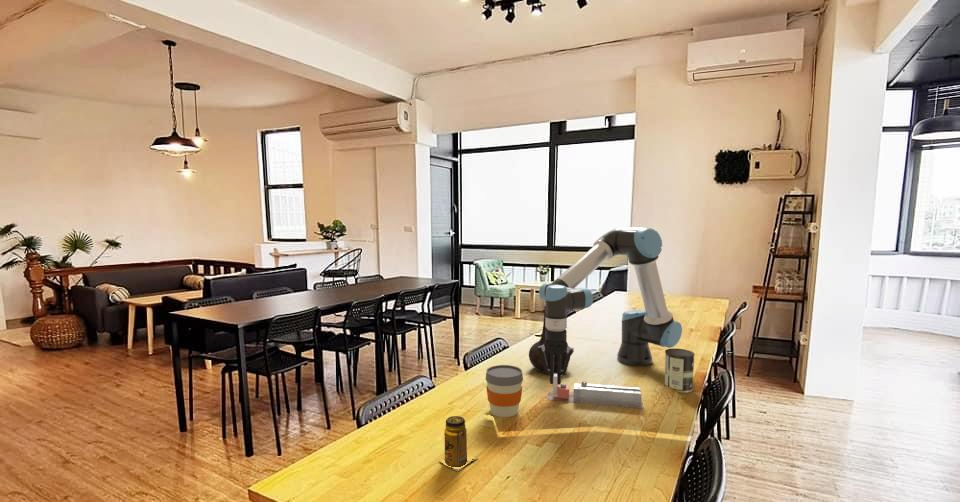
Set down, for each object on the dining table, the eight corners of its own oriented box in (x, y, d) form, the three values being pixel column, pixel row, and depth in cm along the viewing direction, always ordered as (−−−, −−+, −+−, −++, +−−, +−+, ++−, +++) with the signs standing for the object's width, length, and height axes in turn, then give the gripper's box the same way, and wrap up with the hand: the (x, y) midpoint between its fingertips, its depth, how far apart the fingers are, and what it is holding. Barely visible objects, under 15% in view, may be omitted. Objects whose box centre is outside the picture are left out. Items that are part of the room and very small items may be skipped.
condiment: (438, 462, 122) (437, 420, 121) (459, 450, 129) (458, 409, 128) (457, 472, 118) (457, 428, 117) (478, 459, 124) (478, 417, 123)
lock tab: (558, 393, 165) (558, 382, 164) (569, 394, 164) (569, 383, 164) (557, 397, 161) (557, 386, 161) (568, 398, 160) (568, 387, 160)
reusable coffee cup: (526, 409, 155) (526, 366, 154) (517, 425, 144) (517, 379, 142) (492, 404, 159) (492, 363, 158) (480, 419, 148) (480, 375, 146)
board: (548, 393, 169) (548, 390, 169) (641, 401, 161) (641, 398, 161) (546, 403, 160) (546, 400, 160) (644, 412, 152) (644, 409, 152)
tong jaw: (581, 396, 162) (581, 381, 161) (639, 401, 158) (639, 385, 157) (581, 399, 160) (581, 383, 159) (640, 403, 156) (640, 387, 155)
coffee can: (689, 383, 178) (690, 348, 177) (696, 393, 168) (697, 357, 167) (661, 381, 180) (662, 347, 179) (667, 391, 170) (668, 355, 169)
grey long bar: (573, 396, 163) (574, 383, 162) (639, 402, 158) (639, 388, 157) (573, 402, 158) (573, 388, 157) (641, 408, 153) (641, 394, 152)
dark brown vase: (552, 380, 182) (552, 312, 180) (520, 369, 195) (520, 305, 193) (578, 370, 194) (579, 306, 191) (546, 360, 207) (547, 300, 205)
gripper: (536, 330, 159) (536, 395, 161) (574, 332, 156) (573, 398, 158) (538, 325, 166) (538, 387, 168) (574, 327, 163) (574, 390, 165)
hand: (555, 392), depth 163 cm, fingers closed
